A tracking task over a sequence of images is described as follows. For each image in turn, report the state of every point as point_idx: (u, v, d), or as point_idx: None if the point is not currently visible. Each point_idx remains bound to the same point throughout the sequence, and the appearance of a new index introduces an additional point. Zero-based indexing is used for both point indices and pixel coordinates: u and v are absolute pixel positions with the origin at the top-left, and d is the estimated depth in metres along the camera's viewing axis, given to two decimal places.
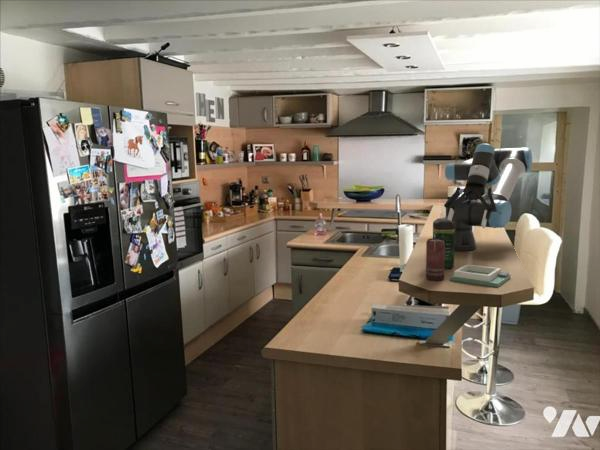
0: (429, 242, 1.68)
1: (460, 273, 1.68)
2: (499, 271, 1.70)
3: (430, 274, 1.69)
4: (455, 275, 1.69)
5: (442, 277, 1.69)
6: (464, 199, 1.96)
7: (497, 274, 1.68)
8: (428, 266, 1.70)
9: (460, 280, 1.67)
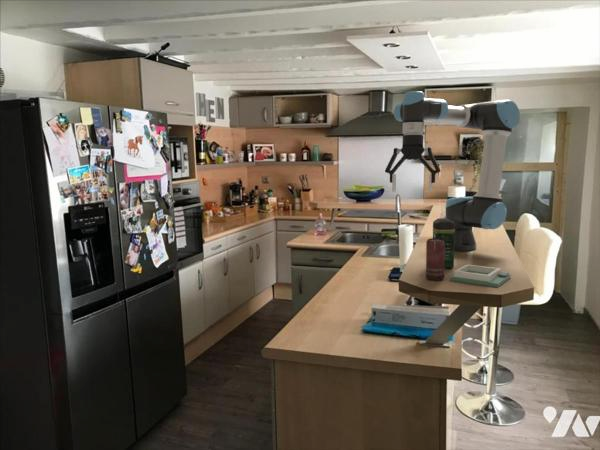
0: (429, 242, 1.68)
1: (460, 273, 1.68)
2: (499, 271, 1.70)
3: (430, 274, 1.69)
4: (455, 275, 1.69)
5: (442, 277, 1.69)
6: (404, 160, 1.85)
7: (497, 274, 1.68)
8: (428, 266, 1.70)
9: (460, 280, 1.67)
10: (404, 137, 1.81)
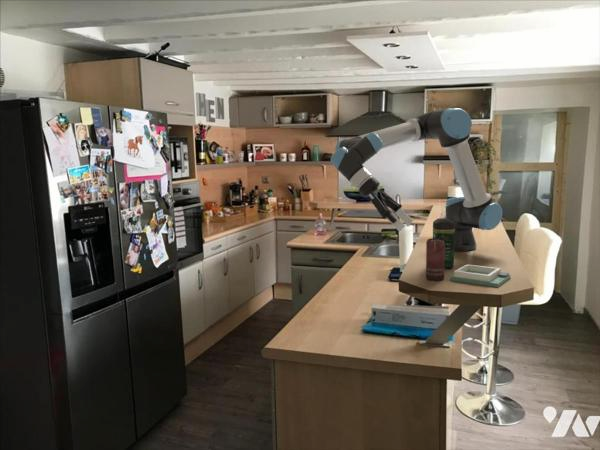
0: (429, 242, 1.68)
1: (460, 273, 1.68)
2: (499, 271, 1.70)
3: (430, 274, 1.69)
4: (455, 275, 1.69)
5: (442, 277, 1.69)
6: (386, 200, 1.78)
7: (497, 274, 1.68)
8: (428, 266, 1.70)
9: (460, 280, 1.67)
10: None
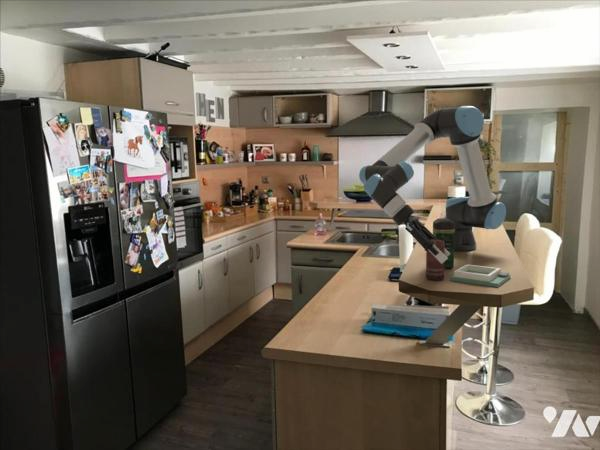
0: None
1: (460, 273, 1.68)
2: (499, 271, 1.70)
3: (430, 274, 1.69)
4: (455, 275, 1.69)
5: (442, 277, 1.69)
6: (420, 229, 1.73)
7: (497, 274, 1.68)
8: (428, 266, 1.70)
9: (460, 280, 1.67)
10: None
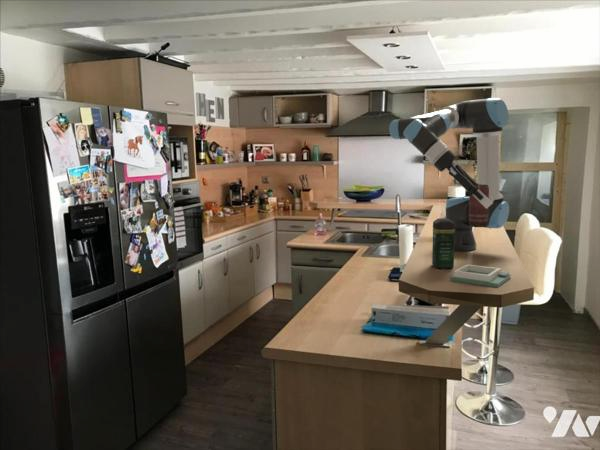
0: None
1: (460, 273, 1.68)
2: (499, 271, 1.70)
3: (474, 221, 1.65)
4: (455, 275, 1.69)
5: (486, 223, 1.65)
6: None
7: (497, 274, 1.68)
8: (472, 212, 1.65)
9: (460, 280, 1.67)
10: None
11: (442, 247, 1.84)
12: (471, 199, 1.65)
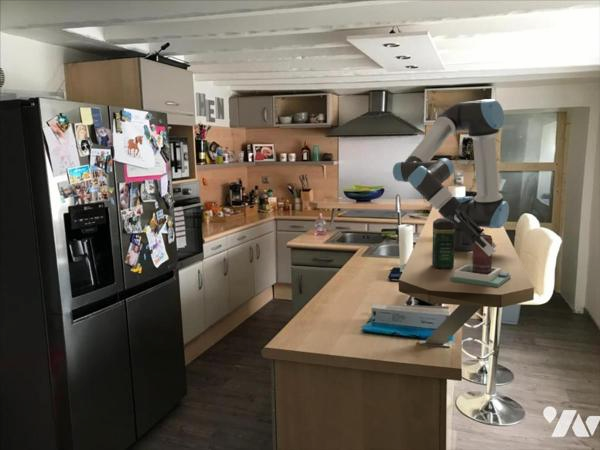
0: None
1: (460, 273, 1.68)
2: (499, 271, 1.70)
3: (477, 271, 1.67)
4: (455, 275, 1.69)
5: None
6: None
7: (497, 274, 1.68)
8: (475, 262, 1.68)
9: (460, 280, 1.67)
10: None
11: (442, 247, 1.84)
12: (475, 250, 1.67)
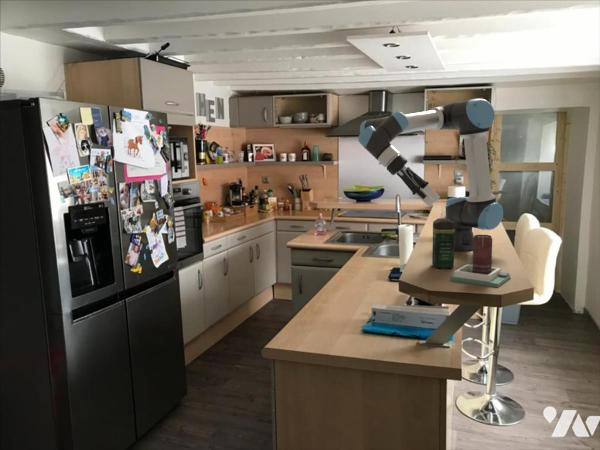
0: (477, 238, 1.66)
1: (460, 273, 1.68)
2: (499, 271, 1.70)
3: (477, 271, 1.67)
4: (455, 275, 1.69)
5: None
6: (413, 177, 1.81)
7: (497, 274, 1.68)
8: (475, 262, 1.68)
9: (460, 280, 1.67)
10: None
11: (442, 247, 1.84)
12: (475, 250, 1.67)
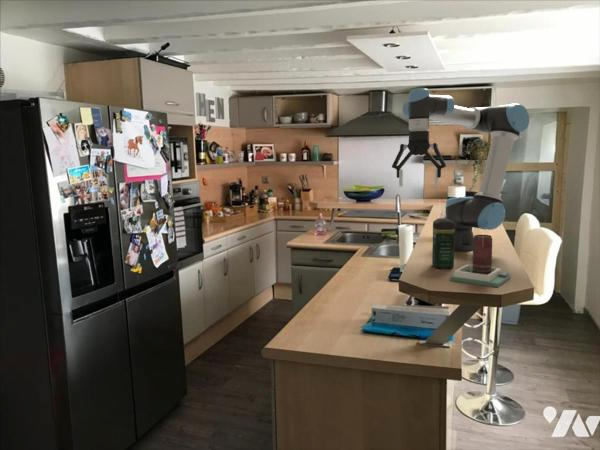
0: (477, 238, 1.66)
1: (460, 273, 1.68)
2: (499, 271, 1.70)
3: (477, 271, 1.67)
4: (455, 275, 1.69)
5: None
6: (410, 156, 1.90)
7: (497, 274, 1.68)
8: (475, 262, 1.68)
9: (460, 280, 1.67)
10: (410, 133, 1.86)
11: (442, 247, 1.84)
12: (475, 250, 1.67)
